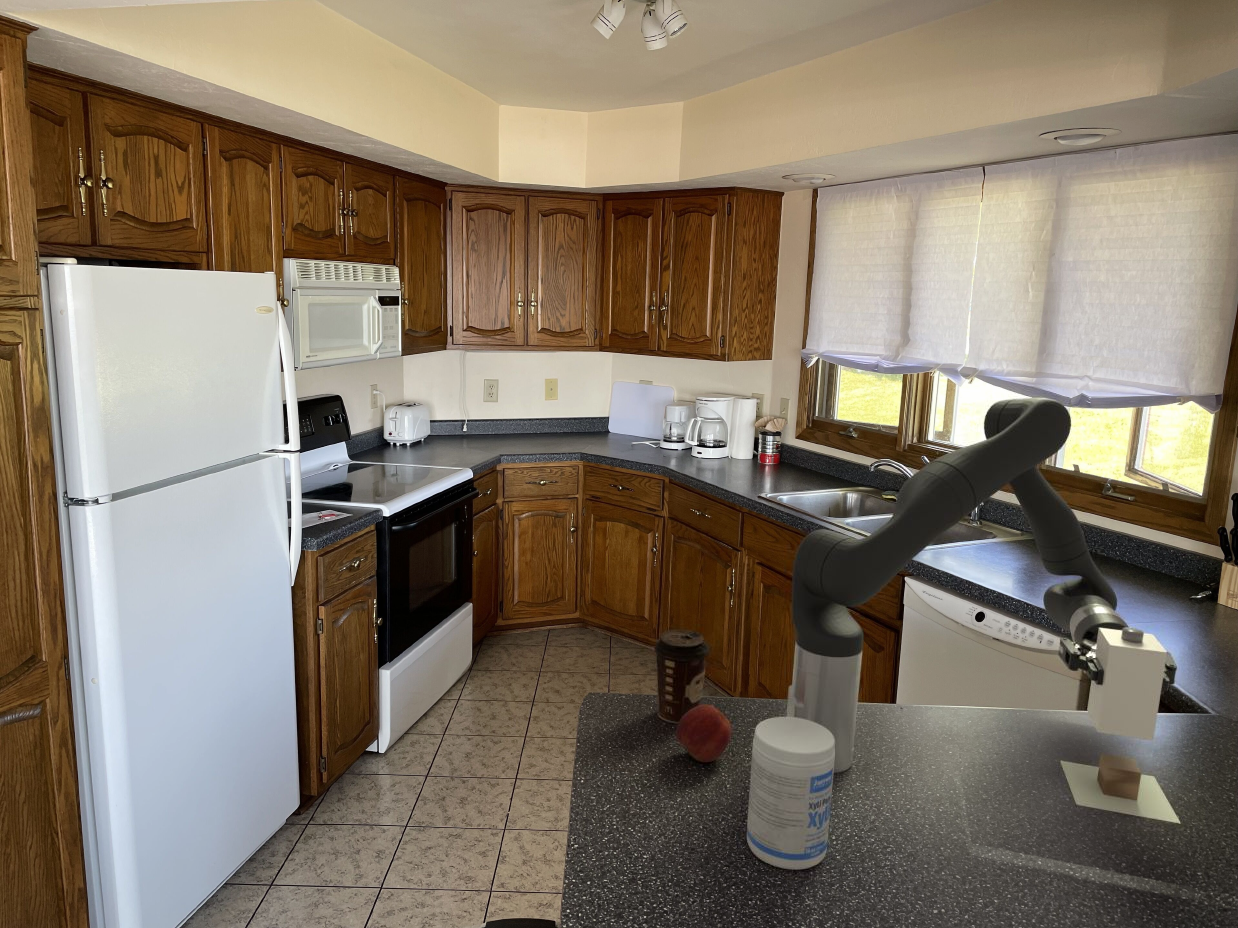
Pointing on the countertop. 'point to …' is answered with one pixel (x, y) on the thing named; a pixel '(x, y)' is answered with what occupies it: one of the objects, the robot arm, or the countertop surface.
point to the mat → (1091, 795)
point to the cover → (1127, 683)
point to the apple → (704, 733)
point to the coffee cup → (679, 672)
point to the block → (1119, 776)
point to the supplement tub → (790, 792)
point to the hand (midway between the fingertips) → (1131, 682)
